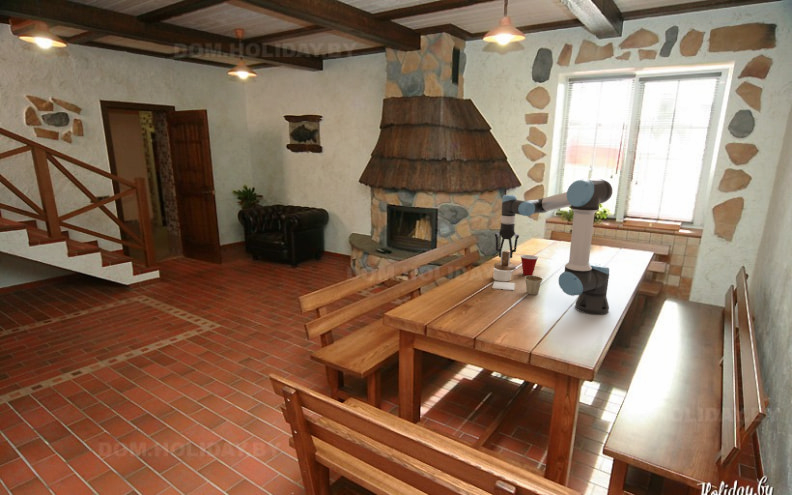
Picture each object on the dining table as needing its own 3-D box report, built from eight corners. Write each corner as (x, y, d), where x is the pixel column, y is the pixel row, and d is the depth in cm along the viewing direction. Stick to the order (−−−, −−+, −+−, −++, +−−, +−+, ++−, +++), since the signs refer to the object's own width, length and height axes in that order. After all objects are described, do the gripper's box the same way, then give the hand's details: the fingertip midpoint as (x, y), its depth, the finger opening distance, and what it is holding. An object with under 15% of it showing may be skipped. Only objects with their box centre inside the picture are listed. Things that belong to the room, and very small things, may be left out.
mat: (515, 284, 245) (515, 283, 245) (514, 290, 234) (514, 289, 234) (494, 282, 248) (494, 281, 248) (492, 288, 237) (492, 287, 237)
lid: (516, 265, 242) (517, 250, 240) (515, 271, 231) (516, 255, 229) (495, 263, 246) (495, 248, 243) (493, 269, 235) (494, 253, 232)
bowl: (511, 277, 258) (511, 266, 256) (510, 282, 248) (511, 271, 247) (494, 275, 261) (494, 265, 259) (492, 280, 251) (493, 270, 250)
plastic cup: (539, 273, 264) (540, 255, 262) (534, 278, 256) (535, 259, 253) (522, 270, 270) (523, 253, 267) (516, 275, 262) (518, 256, 259)
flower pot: (544, 292, 230) (545, 278, 228) (536, 297, 224) (538, 282, 221) (528, 289, 236) (529, 274, 234) (520, 293, 230) (521, 278, 228)
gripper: (523, 222, 233) (520, 262, 239) (493, 220, 238) (490, 260, 244) (523, 224, 226) (520, 266, 232) (491, 223, 231) (489, 263, 237)
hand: (505, 263), depth 238 cm, fingers closed on lid, 4 cm apart
